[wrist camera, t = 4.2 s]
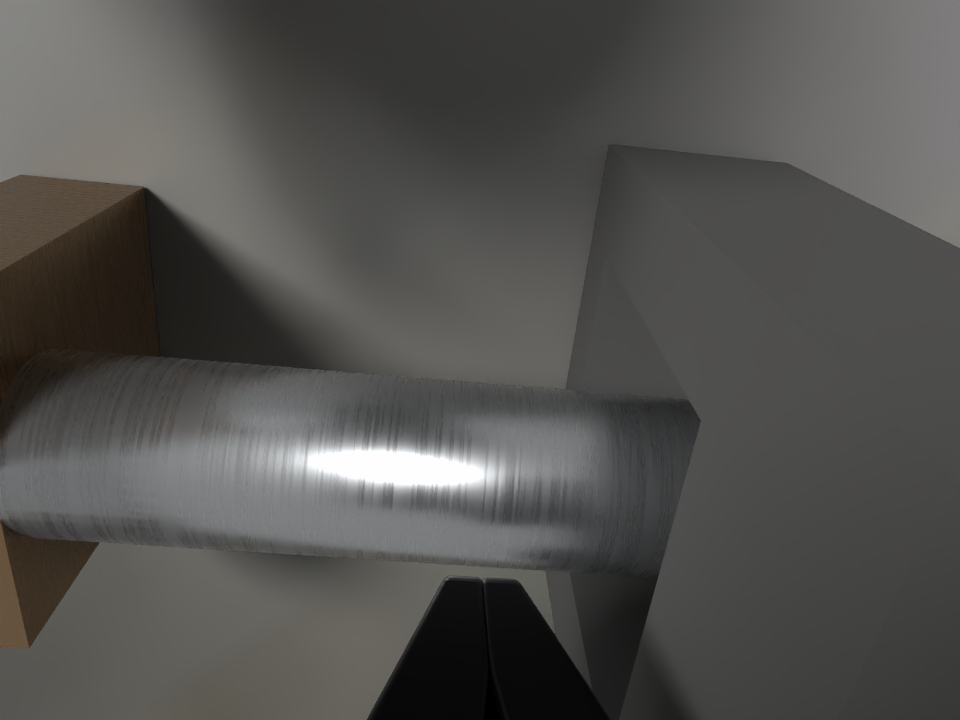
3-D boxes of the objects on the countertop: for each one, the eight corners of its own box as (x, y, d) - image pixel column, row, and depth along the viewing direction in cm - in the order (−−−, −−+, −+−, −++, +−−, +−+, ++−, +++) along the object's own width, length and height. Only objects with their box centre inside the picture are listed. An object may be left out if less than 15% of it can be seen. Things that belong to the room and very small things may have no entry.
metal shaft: (1093, 278, 13) (1451, 434, 9) (983, 499, 16) (1219, 723, 11) (20, 174, 12) (-273, 289, 7) (63, 431, 14) (-140, 651, 9)
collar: (787, 163, 12) (1496, 513, 4) (679, 542, 16) (929, 1158, 7) (608, 144, 12) (954, 473, 4) (540, 532, 15) (635, 1155, 7)
